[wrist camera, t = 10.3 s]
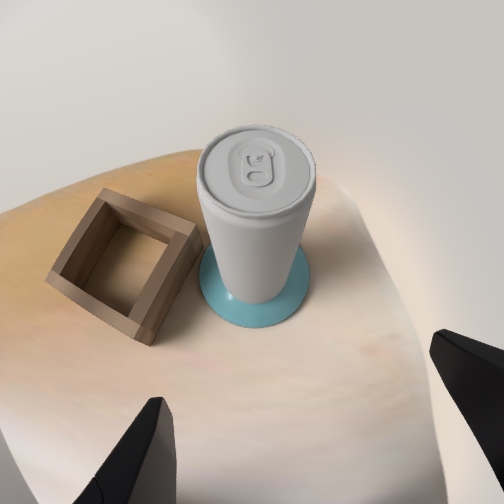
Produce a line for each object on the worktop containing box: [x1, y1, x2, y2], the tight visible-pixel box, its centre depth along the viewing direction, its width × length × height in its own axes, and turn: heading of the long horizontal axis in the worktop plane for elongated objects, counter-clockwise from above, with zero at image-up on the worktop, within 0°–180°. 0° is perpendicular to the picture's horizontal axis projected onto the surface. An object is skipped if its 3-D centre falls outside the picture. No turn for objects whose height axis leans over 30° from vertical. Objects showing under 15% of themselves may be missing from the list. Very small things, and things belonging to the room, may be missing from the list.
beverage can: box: [196, 125, 316, 304], centre depth 17 cm, size 5×5×12 cm
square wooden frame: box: [45, 188, 203, 346], centre depth 21 cm, size 9×9×4 cm
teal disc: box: [199, 243, 309, 328], centre depth 23 cm, size 8×8×1 cm
